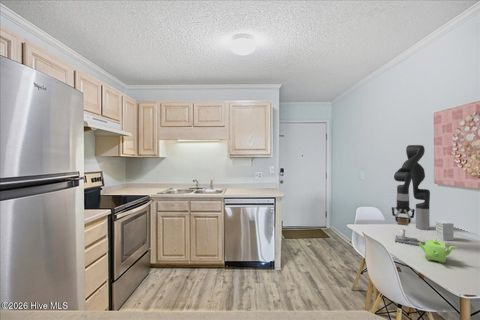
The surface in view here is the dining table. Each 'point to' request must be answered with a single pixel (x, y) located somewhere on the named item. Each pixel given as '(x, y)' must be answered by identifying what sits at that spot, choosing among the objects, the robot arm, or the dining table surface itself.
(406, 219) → the wooden square frame
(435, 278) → the dining table surface
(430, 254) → the kettle
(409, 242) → the post stand
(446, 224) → the supplement box
